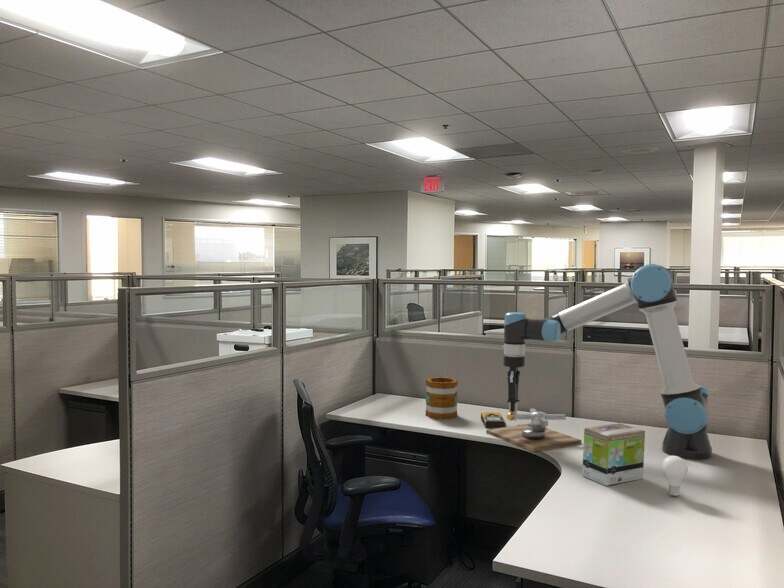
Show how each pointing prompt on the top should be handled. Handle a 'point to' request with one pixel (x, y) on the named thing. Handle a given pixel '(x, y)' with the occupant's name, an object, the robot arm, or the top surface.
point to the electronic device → (492, 420)
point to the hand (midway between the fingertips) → (512, 419)
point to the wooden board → (548, 442)
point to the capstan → (536, 422)
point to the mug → (441, 398)
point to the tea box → (613, 454)
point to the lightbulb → (674, 473)
